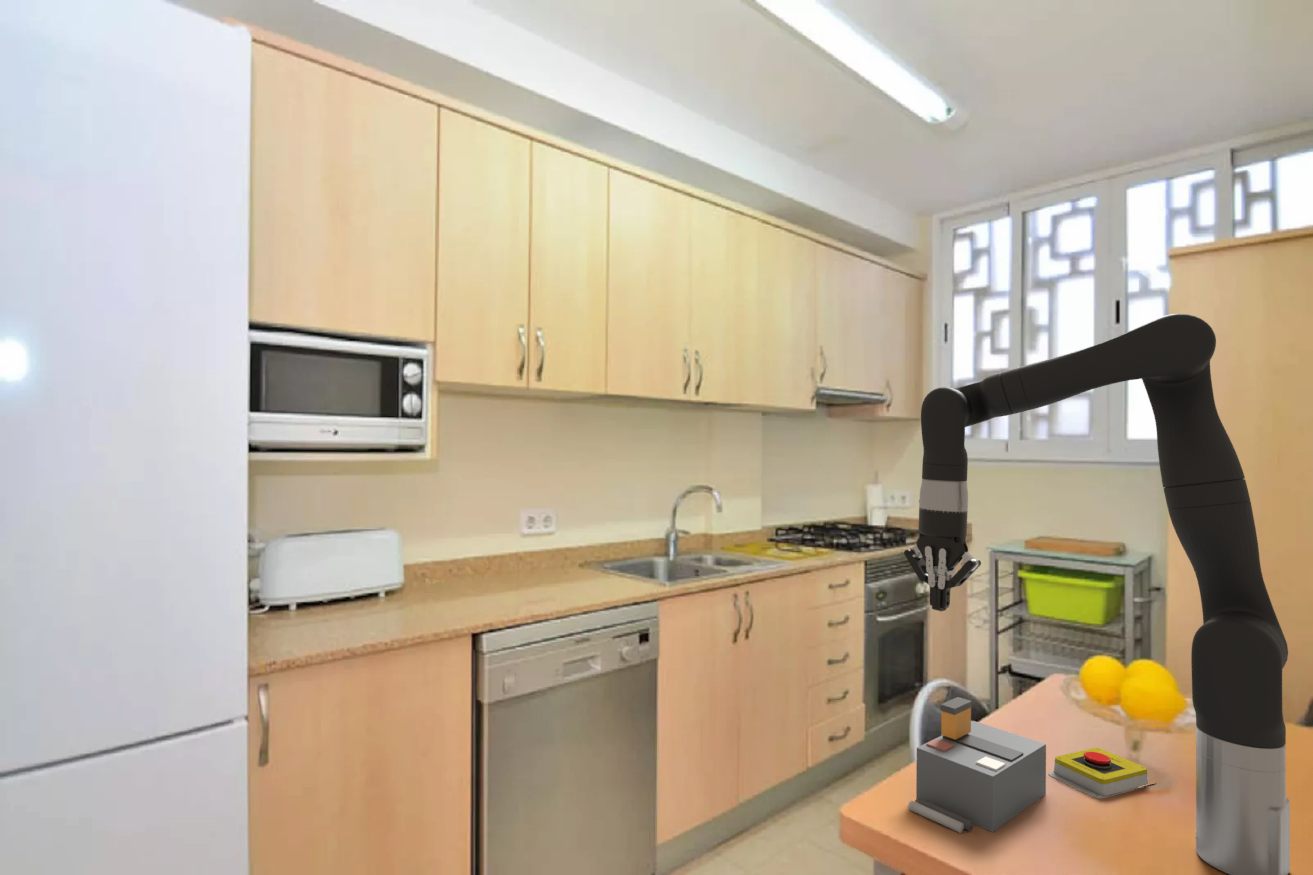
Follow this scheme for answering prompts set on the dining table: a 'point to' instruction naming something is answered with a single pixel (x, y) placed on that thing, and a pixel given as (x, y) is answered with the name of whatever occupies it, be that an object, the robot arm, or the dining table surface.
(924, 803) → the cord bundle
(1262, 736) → the robot arm
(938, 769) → the breaker box
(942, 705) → the breaker handle
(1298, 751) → the dining table surface
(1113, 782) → the emergency button
